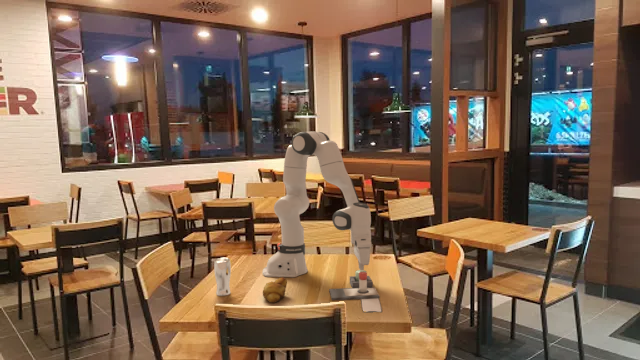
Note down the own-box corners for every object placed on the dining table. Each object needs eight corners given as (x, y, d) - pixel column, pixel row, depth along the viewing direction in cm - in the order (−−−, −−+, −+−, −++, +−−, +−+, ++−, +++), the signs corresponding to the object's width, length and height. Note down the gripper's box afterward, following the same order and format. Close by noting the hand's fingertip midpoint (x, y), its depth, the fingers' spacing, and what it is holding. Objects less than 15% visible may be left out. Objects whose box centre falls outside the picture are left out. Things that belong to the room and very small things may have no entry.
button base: (352, 289, 201) (352, 282, 200) (349, 282, 210) (349, 276, 209) (372, 288, 201) (372, 282, 201) (369, 282, 210) (369, 275, 210)
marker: (359, 292, 192) (359, 274, 192) (358, 290, 196) (358, 272, 195) (367, 292, 193) (367, 274, 192) (366, 289, 196) (366, 271, 195)
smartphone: (360, 298, 191) (362, 313, 175) (360, 297, 191) (362, 312, 175) (379, 298, 191) (382, 313, 175) (379, 297, 191) (382, 311, 175)
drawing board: (331, 300, 188) (331, 297, 188) (329, 291, 199) (329, 288, 199) (379, 298, 189) (379, 295, 189) (374, 289, 200) (374, 286, 200)
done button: (356, 282, 202) (356, 273, 202) (354, 278, 207) (354, 270, 207) (367, 281, 203) (367, 273, 202) (365, 278, 208) (365, 269, 207)
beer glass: (223, 297, 192) (222, 263, 191) (211, 294, 196) (210, 260, 195) (234, 292, 198) (233, 259, 197) (223, 289, 202) (222, 256, 200)
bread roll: (280, 305, 184) (280, 285, 183) (257, 303, 185) (257, 284, 184) (288, 294, 196) (288, 275, 195) (266, 292, 198) (266, 274, 197)
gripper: (350, 234, 213) (350, 263, 215) (357, 244, 193) (358, 276, 194) (363, 233, 214) (364, 262, 215) (372, 244, 193) (372, 275, 195)
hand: (361, 269), depth 205 cm, fingers closed
